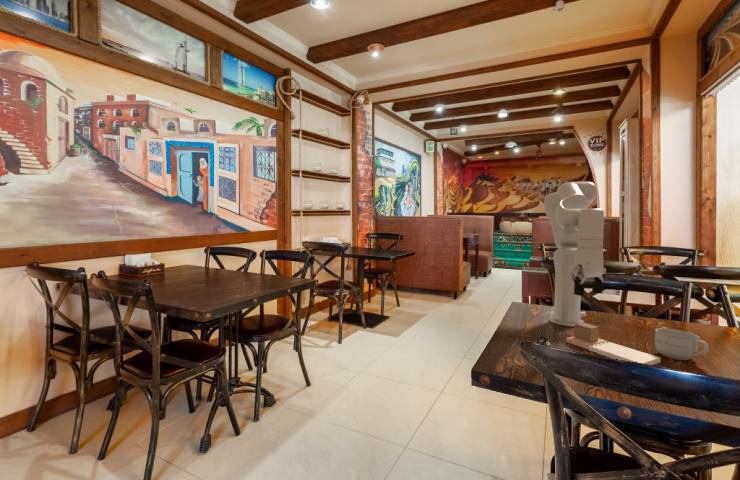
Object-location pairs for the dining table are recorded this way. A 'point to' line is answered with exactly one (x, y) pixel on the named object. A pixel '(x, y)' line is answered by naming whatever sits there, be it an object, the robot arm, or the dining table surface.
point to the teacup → (678, 344)
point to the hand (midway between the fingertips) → (588, 294)
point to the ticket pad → (623, 353)
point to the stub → (585, 335)
